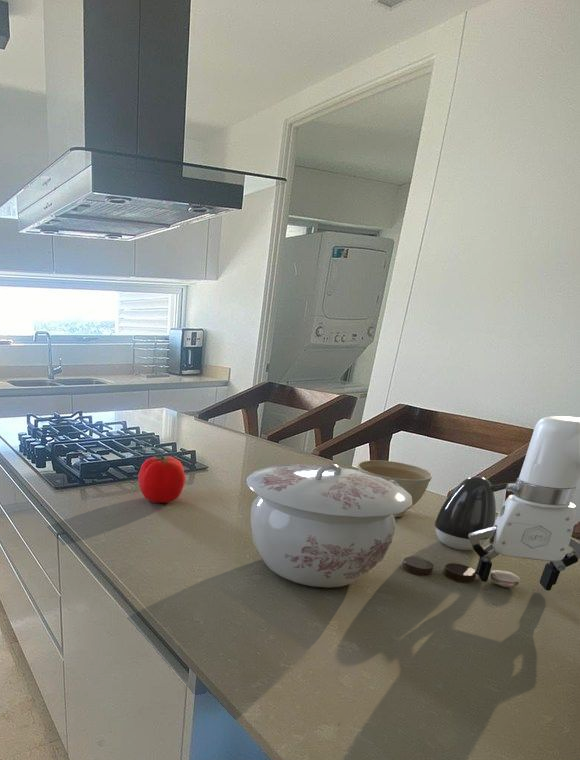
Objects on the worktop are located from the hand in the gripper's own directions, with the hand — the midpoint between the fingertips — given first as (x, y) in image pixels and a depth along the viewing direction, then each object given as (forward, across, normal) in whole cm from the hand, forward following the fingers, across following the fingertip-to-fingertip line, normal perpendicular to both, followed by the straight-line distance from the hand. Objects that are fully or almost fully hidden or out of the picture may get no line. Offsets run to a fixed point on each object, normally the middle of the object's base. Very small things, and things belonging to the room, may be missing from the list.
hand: (512, 582), depth 88 cm
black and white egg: (0, -6, +16) cm, 17 cm away
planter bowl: (0, -19, +32) cm, 37 cm away
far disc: (0, -16, 0) cm, 16 cm away
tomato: (-2, -72, +18) cm, 75 cm away
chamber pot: (-1, -34, -8) cm, 35 cm away
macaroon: (+1, -2, 0) cm, 2 cm away
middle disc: (0, -8, 0) cm, 9 cm away
